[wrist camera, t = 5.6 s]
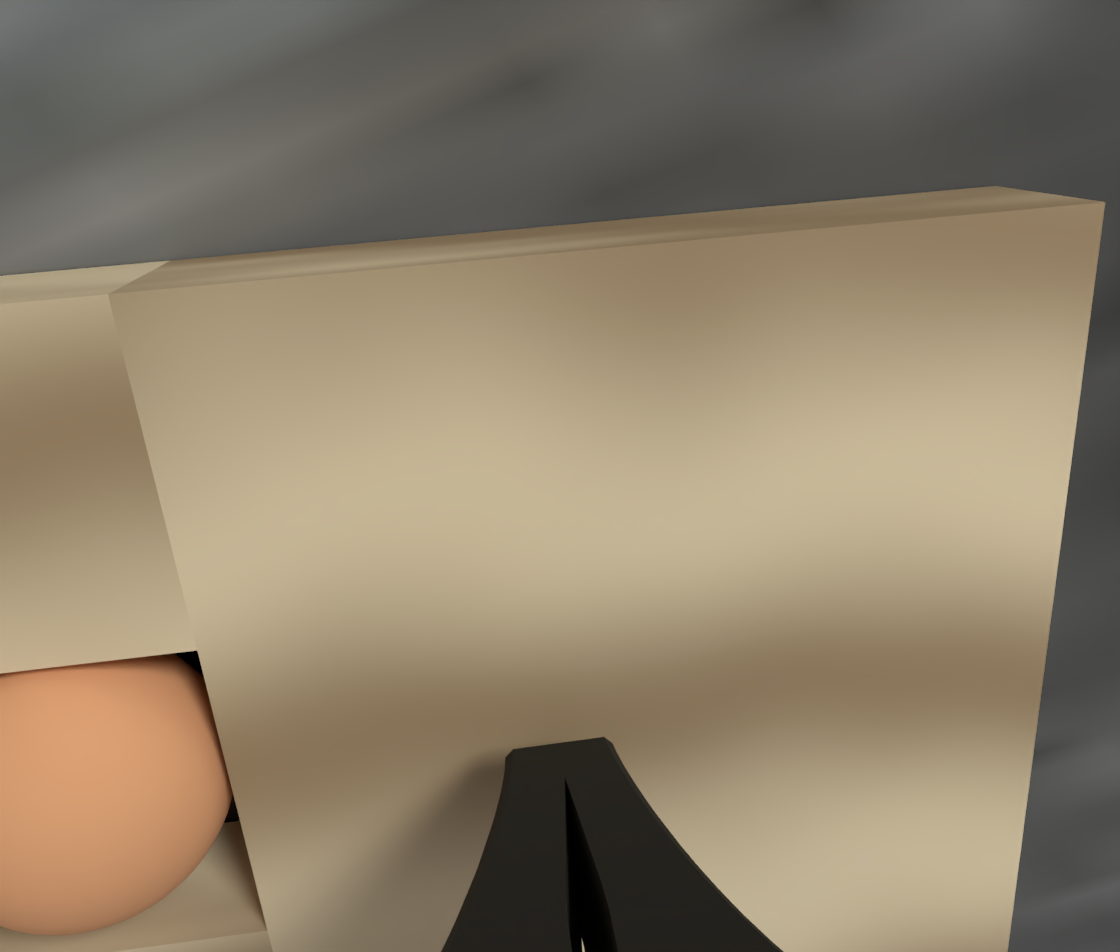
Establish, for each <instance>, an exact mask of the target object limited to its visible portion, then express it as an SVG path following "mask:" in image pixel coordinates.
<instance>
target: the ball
mask: <svg viewBox="0 0 1120 952" xmlns="http://www.w3.org/2000/svg"><path fill="white" fill-rule="evenodd" d="M232 796H233V791H232V787H231V783H230V779H229V775H228V771H227V767H226V763H225V759H224V755H223V751H222V747H221V743H220V739H219V735H218V731H217V727H216V723H215V719H214V715H213V711H212V707H211V703H210V699H209V695H208V691H207V687H206V683H205V679H204V678H203V677H202V676H201V675H200V673H199V672H198V671H197V670H196V669H194V668H193V667H192V666H191V665H189V664H188V663H187V662H186V661H184V660H183V659H182V658H180V657H179V656H177V655H176V654H174V653H172V654H163V655H155V656H146V657H137V658H129V659H120V660H112V661H103V662H95V663H86V664H78V665H69V666H61V667H52V668H44V669H35V670H26V671H18V672H9V673H1V674H0V926H1V927H4V928H7V929H10V930H14V931H17V932H22V933H28V934H35V935H71V934H78V933H84V932H89V931H94V930H98V929H102V928H105V927H108V926H111V925H114V924H116V923H119V922H122V921H124V920H127V919H129V918H131V917H133V916H135V915H137V914H139V913H141V912H143V911H144V910H146V909H148V908H149V907H151V906H153V905H154V904H156V903H157V902H159V901H160V900H162V899H163V898H164V897H166V896H167V895H168V894H169V893H170V892H172V891H173V890H174V889H175V888H176V887H177V886H178V885H180V884H181V883H182V882H183V881H184V880H185V879H186V878H187V877H188V876H189V875H190V874H191V873H192V872H193V871H194V870H195V868H196V867H197V866H198V865H199V863H200V862H201V861H202V859H203V858H204V857H205V855H206V854H207V852H208V851H209V849H210V847H211V846H212V844H213V843H214V841H215V839H216V838H217V836H218V834H219V832H220V830H221V828H222V826H223V823H224V821H225V818H226V816H227V813H228V810H229V807H230V804H231V800H232Z"/></svg>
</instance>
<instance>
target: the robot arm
mask: <svg viewBox="0 0 1120 952" xmlns="http://www.w3.org/2000/svg"><path fill="white" fill-rule="evenodd" d="M582 941H583V945H584V949H585V952H783V951H782V950H781V949H780V948H779V947H778V946H777V945H776V944H774V943H773V942H772V941H771V940H770V939H769V938H768V937H767V936H766V935H764V934H763V933H762V932H761V931H760V930H759V929H758V928H757V927H756V926H755V925H754V924H753V923H752V922H751V921H750V920H749V919H748V918H747V917H746V916H744V915H743V914H742V913H741V912H740V911H739V910H738V909H737V907H736V906H735V905H734V904H733V903H732V902H731V901H730V900H729V899H728V898H727V897H726V896H725V895H724V894H723V893H722V892H721V891H720V890H719V889H718V888H717V887H716V885H715V884H714V883H713V882H712V881H711V880H710V879H709V878H708V876H707V875H706V874H705V873H704V872H703V871H702V870H701V869H700V868H699V866H698V865H697V864H696V863H695V862H694V861H693V859H692V858H691V857H690V856H689V855H688V853H687V852H686V851H685V850H684V849H683V848H682V846H681V845H680V844H679V843H678V841H677V840H676V839H675V837H674V836H673V835H672V834H671V832H670V831H669V830H668V828H667V827H666V826H665V825H664V823H663V822H662V821H661V819H660V818H659V817H658V815H657V814H656V813H655V811H654V810H653V809H652V807H651V806H650V804H649V803H648V802H647V800H646V799H645V797H644V796H643V794H642V793H641V791H640V790H639V788H638V787H637V785H636V784H635V782H634V781H633V779H632V778H631V776H630V774H629V773H628V771H627V770H626V768H625V766H624V764H623V763H622V761H621V759H620V757H619V755H618V754H617V752H616V750H615V747H614V745H613V743H612V742H610V741H609V740H608V739H606V738H605V737H599V738H592V739H584V740H577V741H569V742H562V743H555V744H547V745H540V746H533V747H525V748H518V749H513V750H512V751H511V752H510V753H509V754H508V755H507V756H506V757H505V771H504V777H503V783H502V788H501V793H500V797H499V801H498V805H497V809H496V812H495V816H494V820H493V823H492V826H491V829H490V832H489V835H488V838H487V841H486V844H485V847H484V850H483V853H482V856H481V859H480V862H479V865H478V868H477V870H476V873H475V876H474V878H473V880H472V883H471V885H470V888H469V890H468V892H467V895H466V897H465V900H464V902H463V904H462V907H461V909H460V912H459V914H458V916H457V919H456V921H455V923H454V926H453V928H452V930H451V932H450V934H449V936H448V938H447V940H446V942H445V945H444V947H443V949H442V951H441V952H582Z"/></svg>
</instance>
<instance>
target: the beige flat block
mask: <svg viewBox="0 0 1120 952" xmlns="http://www.w3.org/2000/svg"><path fill="white" fill-rule="evenodd" d="M1104 208H1105V202H1101V201H1094V200H1087V199H1080V198H1074V197H1067V196H1060V195H1053V194H1046V193H1039V192H1033V191H1026V190H1019V189H1012V188H1005V187H998V186H990V187H979V188H968V189H957V190H946V191H935V192H924V193H912V194H901V195H890V196H879V197H868V198H857V199H846V200H835V201H824V202H813V203H802V204H791V205H780V206H769V207H758V208H747V209H736V210H725V211H713V212H702V213H691V214H680V215H669V216H658V217H647V218H636V219H625V220H614V221H603V222H592V223H581V224H570V225H559V226H548V227H537V228H526V229H514V230H503V231H492V232H481V233H470V234H459V235H448V236H437V237H426V238H415V239H404V240H393V241H382V242H371V243H360V244H349V245H338V246H327V247H315V248H304V249H293V250H282V251H271V252H260V253H249V254H238V255H227V256H216V257H205V258H194V259H183V260H172V261H161V262H150V263H139V264H128V265H116V266H105V267H94V268H83V269H72V270H61V271H50V272H39V273H28V274H17V275H6V276H0V674H1V673H9V672H18V671H26V670H35V669H44V668H52V667H61V666H69V665H78V664H86V663H95V662H103V661H112V660H120V659H129V658H137V657H146V656H155V655H163V654H172V653H180V652H189V651H197V652H198V655H199V659H200V663H201V667H202V671H203V675H204V679H205V683H206V687H207V691H208V695H209V699H210V703H211V707H212V711H213V715H214V719H215V723H216V727H217V731H218V735H219V739H220V743H221V747H222V751H223V755H224V759H225V763H226V767H227V771H228V775H229V779H230V783H231V787H232V791H233V795H234V799H235V803H236V807H237V811H238V815H239V819H240V821H235V822H227V823H223V826H222V828H221V830H220V832H219V834H218V836H217V838H216V839H215V841H214V843H213V844H212V846H211V847H210V849H209V851H208V852H207V854H206V855H205V857H204V858H203V859H202V861H201V862H200V863H199V865H198V866H197V867H196V868H195V870H194V871H193V872H192V873H191V874H190V875H189V876H188V877H187V878H186V879H185V880H184V881H183V882H182V883H181V884H180V885H178V886H177V887H176V888H175V889H174V890H173V891H172V892H170V893H169V894H168V895H167V896H166V897H164V898H163V899H162V900H160V901H159V902H157V903H156V904H154V905H153V906H151V907H149V908H148V909H146V910H144V911H143V912H141V913H139V914H137V915H135V916H133V917H131V918H129V919H127V920H124V921H122V922H119V923H116V924H114V925H111V926H108V927H105V928H102V929H98V930H94V931H89V932H84V933H78V934H71V935H35V934H28V933H22V932H17V931H14V930H10V929H7V928H4V927H1V926H0V952H441V951H442V949H443V947H444V945H445V942H446V940H447V938H448V936H449V934H450V932H451V930H452V928H453V926H454V923H455V921H456V919H457V916H458V914H459V912H460V909H461V907H462V904H463V902H464V900H465V897H466V895H467V892H468V890H469V888H470V885H471V883H472V880H473V878H474V876H475V873H476V870H477V868H478V865H479V862H480V859H481V856H482V853H483V850H484V847H485V844H486V841H487V838H488V835H489V832H490V829H491V826H492V823H493V820H494V816H495V812H496V809H497V805H498V801H499V797H500V793H501V788H502V783H503V777H504V771H505V757H506V756H507V755H508V754H509V753H510V752H511V751H512V750H513V749H518V748H525V747H533V746H540V745H547V744H555V743H562V742H569V741H577V740H584V739H592V738H599V737H605V738H606V739H608V740H609V741H610V742H612V743H613V745H614V747H615V750H616V752H617V754H618V755H619V757H620V759H621V761H622V763H623V764H624V766H625V768H626V770H627V771H628V773H629V774H630V776H631V778H632V779H633V781H634V782H635V784H636V785H637V787H638V788H639V790H640V791H641V793H642V794H643V796H644V797H645V799H646V800H647V802H648V803H649V804H650V806H651V807H652V809H653V810H654V811H655V813H656V814H657V815H658V817H659V818H660V819H661V821H662V822H663V823H664V825H665V826H666V827H667V828H668V830H669V831H670V832H671V834H672V835H673V836H674V837H675V839H676V840H677V841H678V843H679V844H680V845H681V846H682V848H683V849H684V850H685V851H686V852H687V853H688V855H689V856H690V857H691V858H692V859H693V861H694V862H695V863H696V864H697V865H698V866H699V868H700V869H701V870H702V871H703V872H704V873H705V874H706V875H707V876H708V878H709V879H710V880H711V881H712V882H713V883H714V884H715V885H716V887H717V888H718V889H719V890H720V891H721V892H722V893H723V894H724V895H725V896H726V897H727V898H728V899H729V900H730V901H731V902H732V903H733V904H734V905H735V906H736V907H737V909H738V910H739V911H740V912H741V913H742V914H743V915H744V916H746V917H747V918H748V919H749V920H750V921H751V922H752V923H753V924H754V925H755V926H756V927H757V928H758V929H759V930H760V931H761V932H762V933H763V934H764V935H766V936H767V937H768V938H769V939H770V940H771V941H772V942H773V943H774V944H776V945H777V946H778V947H779V948H780V949H781V950H782V951H783V952H1007V951H1008V944H1009V936H1010V928H1011V921H1012V913H1013V905H1014V898H1015V890H1016V882H1017V875H1018V867H1019V859H1020V852H1021V844H1022V836H1023V829H1024V821H1025V813H1026V806H1027V798H1028V790H1029V783H1030V775H1031V767H1032V760H1033V752H1034V744H1035V737H1036V729H1037V721H1038V714H1039V706H1040V698H1041V691H1042V683H1043V675H1044V668H1045V660H1046V652H1047V645H1048V637H1049V629H1050V622H1051V614H1052V606H1053V599H1054V591H1055V583H1056V576H1057V568H1058V560H1059V553H1060V545H1061V537H1062V530H1063V522H1064V514H1065V507H1066V499H1067V491H1068V484H1069V476H1070V468H1071V461H1072V453H1073V445H1074V438H1075V430H1076V422H1077V415H1078V407H1079V399H1080V392H1081V384H1082V376H1083V369H1084V361H1085V353H1086V346H1087V338H1088V330H1089V323H1090V315H1091V307H1092V300H1093V292H1094V284H1095V277H1096V269H1097V261H1098V254H1099V246H1100V238H1101V231H1102V223H1103V215H1104ZM582 952H585V949H584V945H583V941H582Z"/></svg>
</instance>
